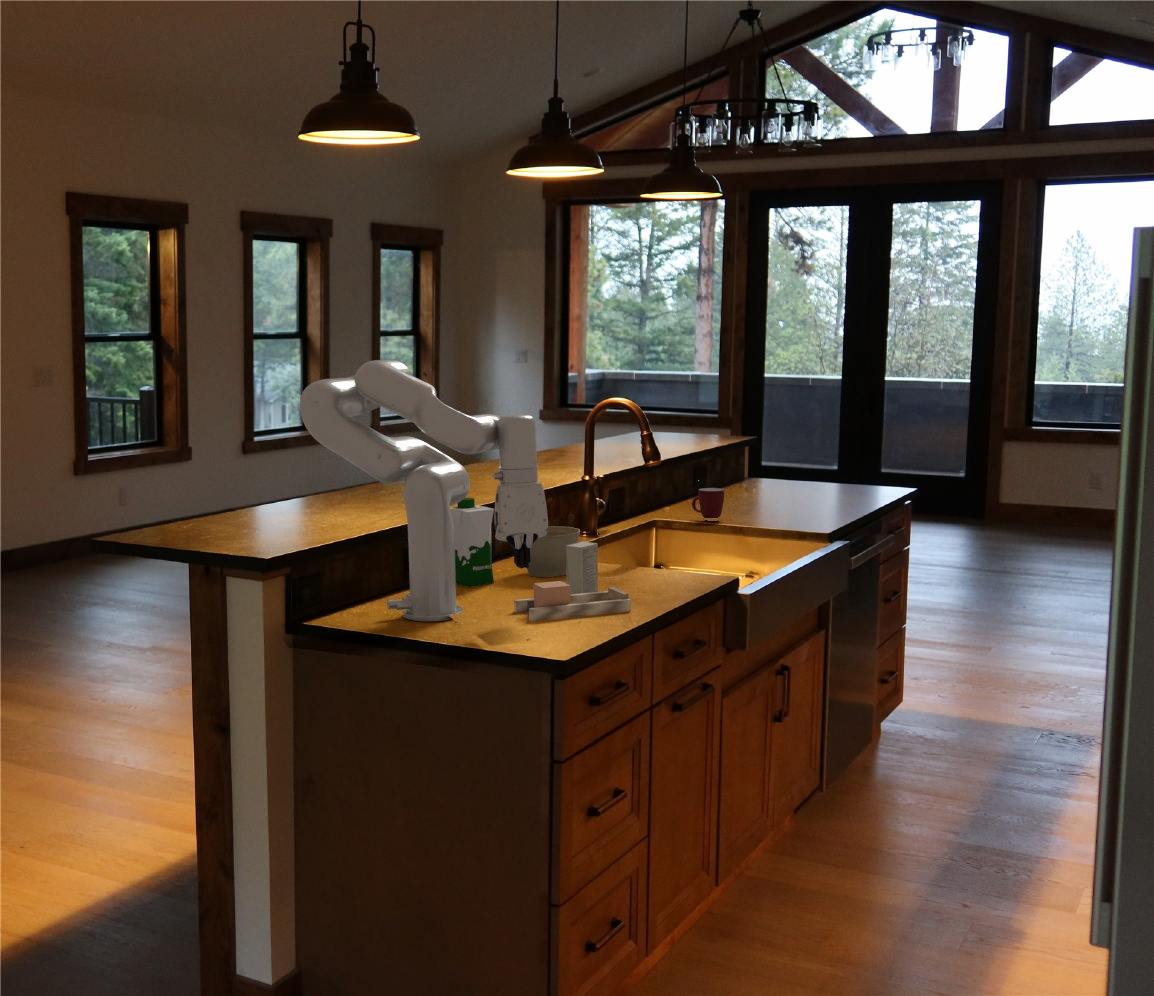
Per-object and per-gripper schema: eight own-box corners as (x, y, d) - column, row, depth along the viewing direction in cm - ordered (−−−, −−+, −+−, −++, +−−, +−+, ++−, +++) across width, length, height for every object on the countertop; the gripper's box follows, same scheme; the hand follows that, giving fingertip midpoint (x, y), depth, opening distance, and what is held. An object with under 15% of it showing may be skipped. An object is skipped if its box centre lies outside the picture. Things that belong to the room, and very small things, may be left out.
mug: (687, 521, 381) (687, 490, 379) (695, 518, 388) (695, 487, 387) (720, 523, 376) (720, 491, 375) (727, 519, 384) (727, 488, 383)
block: (543, 617, 245) (543, 588, 245) (534, 611, 250) (533, 583, 249) (570, 614, 248) (570, 585, 247) (560, 609, 253) (560, 580, 252)
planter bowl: (567, 566, 307) (566, 524, 305) (590, 577, 292) (589, 533, 290) (506, 571, 301) (505, 528, 300) (526, 583, 286) (525, 537, 285)
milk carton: (476, 578, 292) (475, 496, 290) (499, 583, 286) (498, 499, 283) (446, 583, 287) (444, 499, 284) (469, 589, 280) (467, 503, 277)
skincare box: (583, 594, 273) (583, 541, 271) (599, 596, 270) (598, 542, 268) (565, 599, 268) (565, 544, 266) (581, 601, 265) (580, 546, 264)
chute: (531, 626, 242) (530, 604, 241) (514, 616, 251) (513, 595, 251) (630, 616, 250) (630, 594, 250) (611, 606, 260) (610, 586, 259)
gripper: (489, 481, 236) (493, 573, 238) (560, 475, 242) (563, 566, 244) (477, 477, 243) (481, 568, 245) (546, 472, 249) (550, 560, 251)
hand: (522, 566), depth 245 cm, fingers closed
